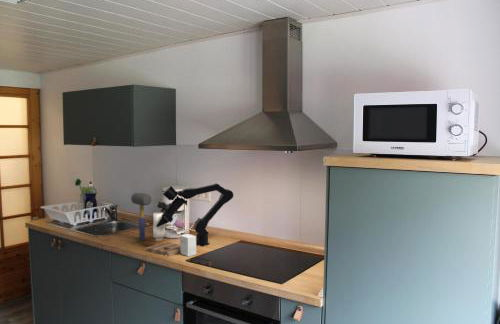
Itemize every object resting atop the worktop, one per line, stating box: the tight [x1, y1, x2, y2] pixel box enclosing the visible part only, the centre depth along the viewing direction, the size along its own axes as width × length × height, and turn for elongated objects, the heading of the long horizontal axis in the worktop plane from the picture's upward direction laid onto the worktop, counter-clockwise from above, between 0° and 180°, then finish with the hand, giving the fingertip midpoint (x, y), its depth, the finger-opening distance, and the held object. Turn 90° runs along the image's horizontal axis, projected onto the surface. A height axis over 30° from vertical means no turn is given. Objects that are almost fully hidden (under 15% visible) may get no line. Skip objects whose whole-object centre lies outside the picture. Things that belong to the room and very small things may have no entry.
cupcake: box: [173, 218, 184, 228], centre depth 272 cm, size 9×9×10 cm
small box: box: [179, 233, 197, 257], centre depth 225 cm, size 8×6×10 cm
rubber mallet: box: [130, 192, 152, 241], centre depth 255 cm, size 12×8×30 cm, turn 54°
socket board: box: [145, 241, 181, 257], centre depth 233 cm, size 18×15×2 cm
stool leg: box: [152, 211, 166, 242], centre depth 238 cm, size 7×7×16 cm
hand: (156, 225), depth 237 cm, fingers closed on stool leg, 6 cm apart
